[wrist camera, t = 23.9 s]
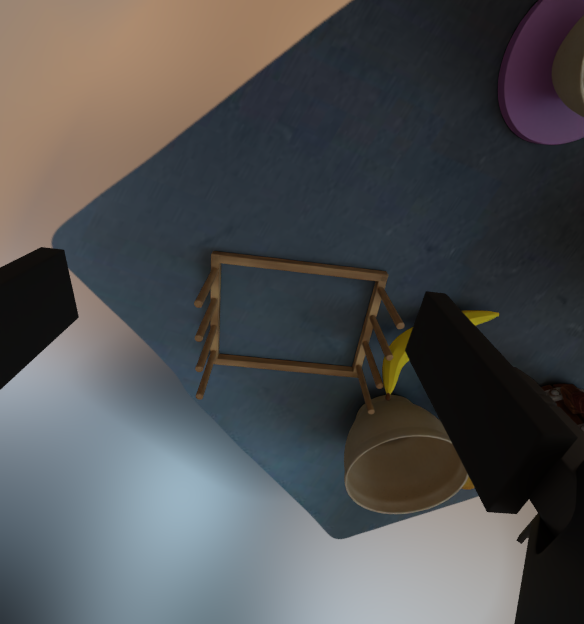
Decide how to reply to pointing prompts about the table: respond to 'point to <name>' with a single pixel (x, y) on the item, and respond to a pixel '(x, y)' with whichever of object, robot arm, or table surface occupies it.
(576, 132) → the lid
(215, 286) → the rack
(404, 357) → the banana
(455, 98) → the table surface
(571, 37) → the flower pot
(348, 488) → the planter bowl
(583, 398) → the mug
